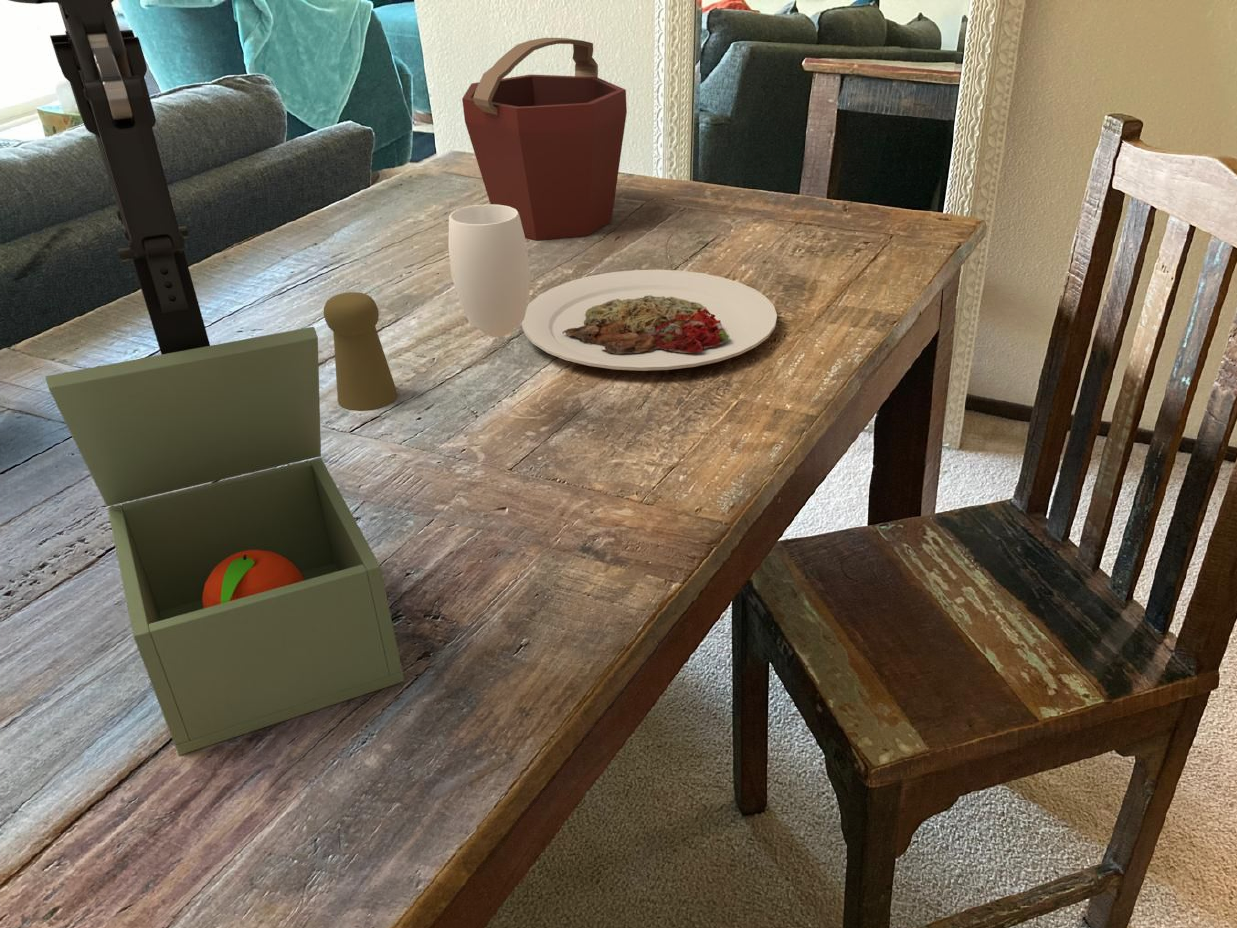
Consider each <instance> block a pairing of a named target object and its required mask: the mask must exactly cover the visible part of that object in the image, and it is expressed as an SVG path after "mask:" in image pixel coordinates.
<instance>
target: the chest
mask: <svg viewBox="0 0 1237 928" xmlns="http://www.w3.org/2000/svg"><path fill="white" fill-rule="evenodd" d="M107 512H108V518H109V522H110V527H111V533H112V536H113V542H114V548H115V552H116V556H117V561H118V566H119V572H120V577H121V581H122V586H123V591H124V596H125V601H126V602H125V603H126V606H127V611H128V616H129V621H130V626H131V631H132V636H133V639H134V641H135V644H136V647H137V650H138V652H139V654H140V657H141V660H142V662H143V663H142V664H143V665H144V667H145V670H146V673H147V676H148V678H149V681H150V683H151V686H152V689H153V692H154V694H155V697H156V700H157V702H158V705H159V707H160V710H161V712H162V715H163V718H164V720H165V723H166V725H167V728H168V731H169V734H170V737H171V739H172V742H173V744H174V748H175V749H176V753H177V755H178V756H183V755H185V754H188V753H191V752H194V751H198V750H201V749H203V748H206V747H209V746H213V745H215V744H218V743H222V742H224V741H227V740H230V739H231V740H232V739H233V738H236V737H239V736H242V735H246V734H248V733H252V732H254V731H258V730H261V729H265V728H266V727H270V726H273V725H276V724H279V723H282V722H286V721H288V720H291V719H294V718H297V717H300V716H303V715H307V714H311V713H312V712H315V711H318V710H322V709H324V708H327V707H332V706H334V705H337V704H340V703H343V702H346V701H348V700H352V699H355V698H358V697H361V696H364V695H367V694H371V693H374V692H376V691H381V690H382V689H385V688H388V687H392V686H395V685H397V684H401V683H404V682H405V677H404V672H403V667H402V662H401V658H400V657H401V656H400V653H399V648H398V643H397V638H396V634H395V629H394V625H393V620H392V615H391V611H390V610H391V609H390V606H389V601H388V596H387V591H386V587H385V586H386V585H385V581H384V576H383V572H382V567H381V565H380V563H379V561H378V559H377V557H376V556H375V553H374V552H373V550H372V548H371V547H370V544H369V543H368V541H367V539H366V537H365V535H364V534H363V531H362V530H361V528H360V526H359V524H358V523H357V521H356V518H355V517H354V515H353V514H352V511H351V510H350V507H349V506H348V504H347V502H346V501H345V499H344V497H343V496H342V493H341V491H340V490H339V487H338V486H337V485H336V482H335V480H334V479H333V477H332V475H331V473H330V472H329V470H328V467H327V466H326V464H325V461H323V458H322V457H316V458H312V459H307V460H303V461H299V462H294V463H290V464H286V465H282V466H277V467H273V468H269V469H265V470H260V471H256V472H252V473H247V474H243V475H239V476H235V477H230V478H226V479H222V480H218V481H213V482H209V483H205V484H201V485H196V486H192V487H188V488H183V489H179V490H175V491H171V492H166V493H162V494H158V495H154V496H149V497H145V498H141V499H136V500H132V501H128V502H124V503H121V504H116V505H112V506H108V507H107ZM247 550H263V551H271V552H274V553H277V554H279V555H281V556H283V557H284V558H286V559H288V560H289V561H290V562H292V563H293V564H294V565H295V566H296V567H297V569H298V570H299V571H300V573H301V574H302V576H303V578H304V580H305V581H301V582H297V583H294V584H290V585H287V586H283V587H279V588H276V589H272V590H269V591H265V592H262V593H258V594H254V595H251V596H247V597H244V598H240V599H236V600H233V601H229V602H226V603H222V604H219V605H215V606H211V607H208V608H203V601H202V599H203V591H204V586H205V583H206V581H207V579H208V577H209V576H210V574H211V572H212V571H213V569H214V568H215V567H216V566H217V565H218V564H219V563H221V562H222V561H223V560H225V559H226V558H228V557H229V556H231V555H233V554H236V553H238V552H242V551H247Z"/></svg>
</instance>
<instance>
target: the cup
mask: <svg viewBox="0 0 1237 928" xmlns="http://www.w3.org/2000/svg"><path fill="white" fill-rule="evenodd" d="M526 239H527V238H525V235H524V231H523V228H522V224H521V220H520V216H519V213H518V212H517V210H516V209H514V208H512V207H509V206H504V205H492V204H490V203H487V204H486V203H485V204H474V205H469V206H463V207H460V208H457V209H455V210H454V211H452V212H451V213H450V214H449V216H448V244H447V245H448V246H447V247H448V256H449V257H448V258H449V265H450V276H451V279H452V283H453V286H454V289H455V293H456V296H457V300H458V302H459V305H460V307H461V309H462V311H463V313H464V315H465V317H466V319H467V322H468V324H469V325H470V326H471V327H473V328H475V329H478V330H479V331H480V332H481V333H483V334H484V335H485V336H488V337H492V338H500V337H504V336H508V335H510V334H511V333H513V331H514V330H515V328H516V327H517V326H519V325H521V322H523V320H524V318H525V314H526V309H527V306H528V304H529V301H530V287H531V265H530V258H529V251H528V244H527V240H526Z"/></svg>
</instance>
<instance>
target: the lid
mask: <svg viewBox="0 0 1237 928" xmlns="http://www.w3.org/2000/svg"><path fill="white" fill-rule="evenodd" d="M44 378H45V381H46V385H47V388H48V391H49V392H50V394H51V396H52V398H53V401H54V403H55V405H56V406H57V409H58V411H59V412H60V414H61V417H62V418H63V421H64V423H65V425H66V427H67V428H68V431H69V433H70V435H71V437H72V440H73V441H74V443H75V445H76V447H77V449H78V451H79V453H80V456H81V458H82V460H83V461H84V463H85V466H86V467H87V469H88V471H89V474H90V475H91V478H92V479H93V482H94V484H95V486H96V487H97V490H98V492H99V494H100V496H101V498H102V500H103V502H104V504H105V506H106V507H112V506H116V505H120V504H125V503H129V502H133V501H137V500H142V499H146V498H150V497H154V496H159V495H163V494H167V493H171V492H176V491H180V490H184V489H189V488H193V487H197V486H201V485H206V484H210V483H214V482H218V481H223V480H227V479H231V478H235V477H240V476H244V475H248V474H252V473H257V472H261V471H265V470H270V469H274V468H278V467H282V466H287V465H291V464H295V463H299V462H304V461H308V460H312V459H317V458H321V456H322V441H321V440H322V438H321V435H322V434H321V405H320V402H321V401H320V367H319V337H318V334H317V331H316V328H315V327H314V326H309V327H304V328H299V329H293V330H288V331H287V330H286V331H282V332H277V333H272V334H266V335H261V336H256V337H250V338H245V339H239V340H234V341H228V342H222V343H218V344H212V345H211V344H210V346H206V347H201V348H195V349H190V350H184V351H179V352H174V353H168V354H163V355H161V354H157V355H154V356H147V357H141V358H136V359H131V360H126V361H125V360H124V361H120V362H115V363H108V364H103V365H98V366H93V367H88V368H82V369H77V370H71V371H66V372H61V373H55V374H50V375H46V376H45V377H44Z"/></svg>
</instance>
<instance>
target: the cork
mask: <svg viewBox="0 0 1237 928" xmlns="http://www.w3.org/2000/svg"><path fill="white" fill-rule="evenodd" d="M379 316H380V312H379V308H378V305H377V303H376V301H375V300H374V299H373V297H371V296H370V295H369V294H366V293H364V292H358V291H351V292H343V293H339V294H335V295H333V296H331V297H330V298H329V299H327V300H326V302H325V304H324V307H323V318H324V320H325V323H326V325H327V327H328V329H330V330H331V331H332V334H333V349H334V364H335V365H334V366H335V378H336V379H335V380H336V395H337V402H338V405H339V406H341V407H342V408H344V409H347V410H350V411H351V410H352V411H370V410H377V409H380V408H382V407H383V408H384V407H386V406H387V405H390V404H392V403H393V402H394V401H395V400H396V399H397V398H398V394H399V393H398V390H397V388H396V385H395V381H394V378H393V375H392V373H391V370H390V366H389V363H388V361H387V357H386V355H385V351H384V348H383V345H382V342H381V339H380V336H379V333H378V330H377V327H376V326H377V324H378V322H379Z"/></svg>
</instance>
